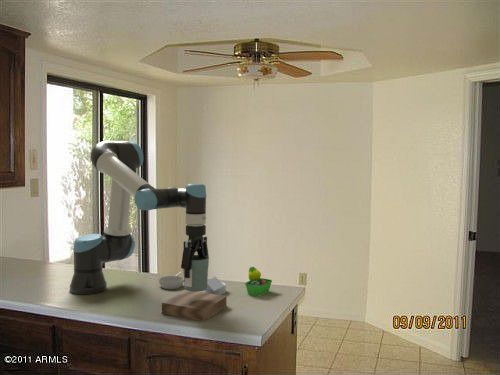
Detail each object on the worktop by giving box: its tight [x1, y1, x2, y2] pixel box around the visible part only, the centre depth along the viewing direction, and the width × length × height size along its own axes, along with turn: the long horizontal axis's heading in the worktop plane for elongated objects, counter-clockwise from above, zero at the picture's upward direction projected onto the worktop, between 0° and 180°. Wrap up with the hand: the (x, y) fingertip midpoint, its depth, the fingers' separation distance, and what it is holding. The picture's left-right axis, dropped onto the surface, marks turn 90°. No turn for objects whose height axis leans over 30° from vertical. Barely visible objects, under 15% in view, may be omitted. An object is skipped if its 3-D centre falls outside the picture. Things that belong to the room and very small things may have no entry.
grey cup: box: [182, 254, 210, 292], centre depth 179 cm, size 10×10×12 cm
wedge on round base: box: [204, 276, 227, 295], centre depth 201 cm, size 9×7×13 cm
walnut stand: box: [161, 290, 228, 322], centre depth 180 cm, size 18×18×4 cm
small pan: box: [158, 271, 184, 290], centre depth 214 cm, size 11×18×4 cm, turn 169°
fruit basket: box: [244, 266, 273, 297], centre depth 203 cm, size 11×9×11 cm
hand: (195, 282), depth 179 cm, fingers closed on grey cup, 9 cm apart
